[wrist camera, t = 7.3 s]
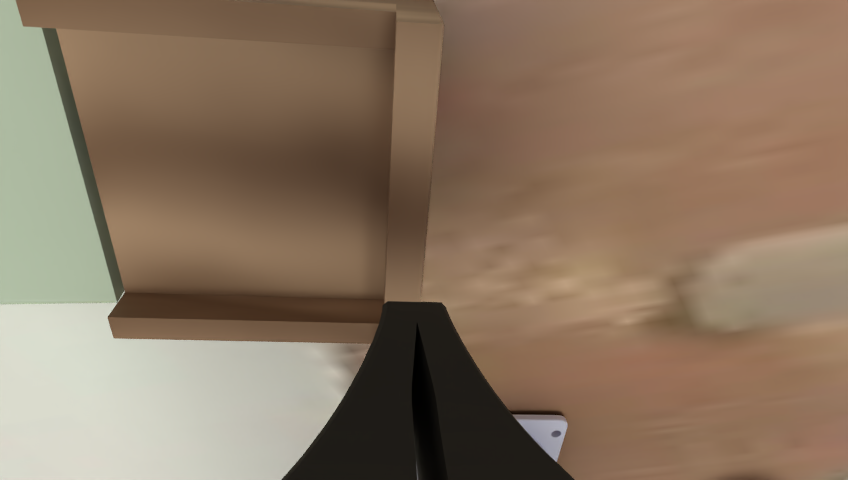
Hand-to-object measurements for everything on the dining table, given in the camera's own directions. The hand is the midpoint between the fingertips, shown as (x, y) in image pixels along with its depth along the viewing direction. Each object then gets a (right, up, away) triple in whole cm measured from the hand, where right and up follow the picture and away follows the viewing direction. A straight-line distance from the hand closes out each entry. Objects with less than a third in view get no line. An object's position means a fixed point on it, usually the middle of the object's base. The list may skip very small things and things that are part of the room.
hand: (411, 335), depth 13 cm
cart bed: (-5, +5, +8) cm, 11 cm away
